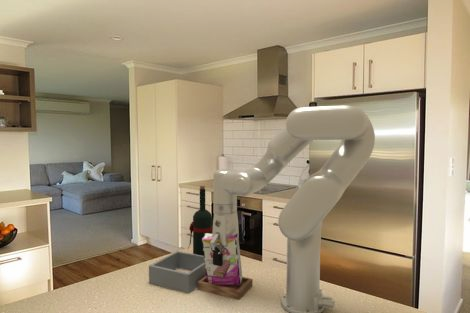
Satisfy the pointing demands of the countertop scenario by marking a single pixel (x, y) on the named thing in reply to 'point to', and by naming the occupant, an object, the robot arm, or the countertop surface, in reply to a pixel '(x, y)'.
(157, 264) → the deep bin
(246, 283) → the walnut tray
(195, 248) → the wine bottle
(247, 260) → the countertop surface
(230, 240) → the candy bar box
